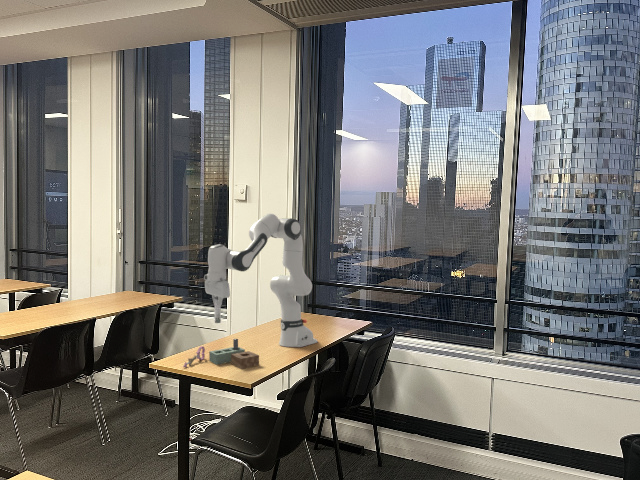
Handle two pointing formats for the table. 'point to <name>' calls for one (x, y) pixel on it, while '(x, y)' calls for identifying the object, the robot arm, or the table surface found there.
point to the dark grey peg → (235, 344)
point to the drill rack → (223, 355)
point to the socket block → (245, 359)
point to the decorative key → (196, 356)
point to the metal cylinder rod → (217, 310)
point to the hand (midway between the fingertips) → (217, 304)
